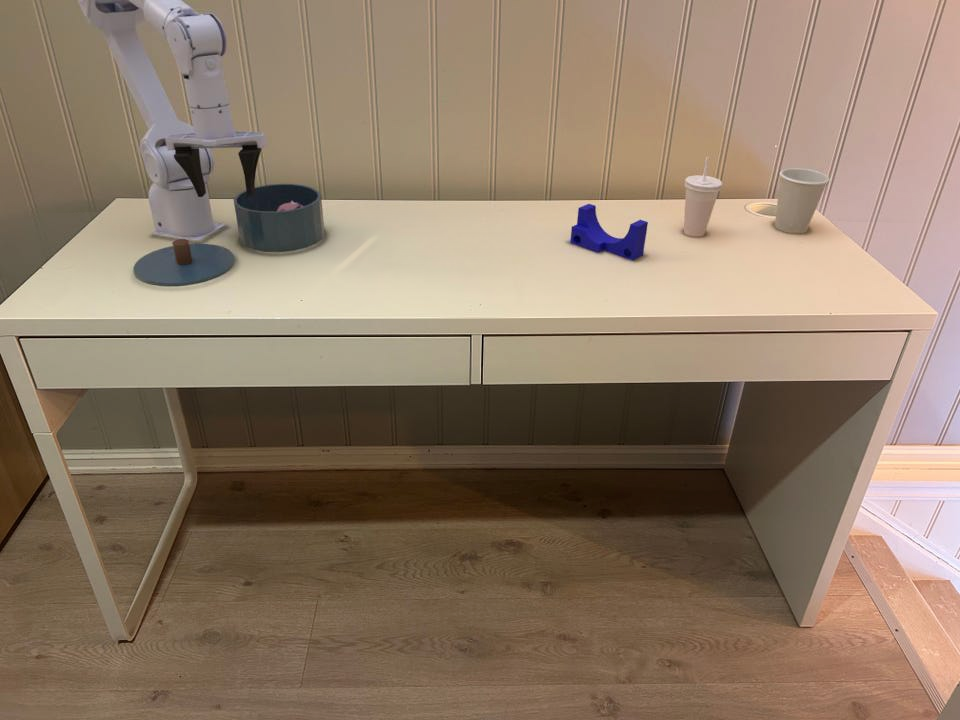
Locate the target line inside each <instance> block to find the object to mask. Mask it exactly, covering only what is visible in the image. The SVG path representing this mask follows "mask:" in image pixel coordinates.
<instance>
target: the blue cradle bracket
mask: <svg viewBox="0 0 960 720" xmlns="http://www.w3.org/2000/svg"><path fill="white" fill-rule="evenodd" d="M648 224H649V222H648V221H646V220H642V219H639V220H636V221H634V222H632V223H630V224H629V227H628V228H629V229H628V232H627V233H626V234H625V236H624V237H622V238H621V237H615V236H613V235H611V234H609V233H607V232H606V231H605V229H603V227H602V226H601V224H600V222H599V220H598V216H597V207H596V205H595V204H591V203H587V204H584V205H582V206H579V207H578V210H577V219H576V224H574V225H572V226H571V231H570V242H569V243H570V244H572V245H575V246H579V247H581V248H584V249H587V250H590V251H593V252H595V253H597V254H599V253H601V252H603V251H604V252H607V253H610V254H613V255H616V256H619V257H622V258H625V259H627V260H631V261H635V260H637V259H639V258H641V257H643V256H644V252H645V251H644V250H645V245H646V238H647V233H648V232H647V231H648Z"/></svg>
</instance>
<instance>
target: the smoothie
mask: <svg viewBox="0 0 960 720" xmlns="http://www.w3.org/2000/svg"><path fill="white" fill-rule="evenodd" d="M704 161H705V162H704V168H703V173H702V175H698V174H697V175H689V176H687V177H686V178H685V179H684V183H683V185H684V187H685V199H684V217H683V219H684V220H683V233H684V234H685V235H686V236H689V237H693V238H694V237H696V238H698V237H704V236H705V234H706V231H707V228H708V226H709V222H710V219H711V216H712V213H713V210H714V207H715V204H716V201H717V198H718V195H719V192H720V191H721V190H722V187H723V182H722V181H721V180H720V179H719V178H717V177H713V176H708V175H707V174H708V168H709V163H710V156H706V157H705V160H704Z"/></svg>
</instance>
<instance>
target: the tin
mask: <svg viewBox="0 0 960 720" xmlns="http://www.w3.org/2000/svg"><path fill="white" fill-rule="evenodd" d="M291 201H293V202H294V203H299V204H301V205H302V206H304V207H301V208H297V209H292V210H287V211H277V210H278V208H279V206H281V205H283V204H285V203H291ZM322 202H323V201H322V195H321V192H320V191H319V190H318V189H316V188H314V187H311V186H309V185H304V184H297V183H272V184H265V185H264V184H263V185H259V186H255V192H254V194H253V195H252V196H248V195H247V191H246V189H245V190H243V191H241V192H239V193H237V194H236V195H235V197H233V205H234V211H235V217H236V223H237V229H238V236H239V242H240V244H242V245H243V246H244V247H245V248H248V249H250V250H253V251H257V252H264V253H285V252H286V253H287V252H293V251H294V252H295V251H299V250H302V249H303V250H304V249H306V248H309V247H312V246H313V245H316V244H318V243H319V242H321V240H323V239H324V237H325V234H326V233H325V232H326V231H325V222H324V213H323V203H322Z"/></svg>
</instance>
